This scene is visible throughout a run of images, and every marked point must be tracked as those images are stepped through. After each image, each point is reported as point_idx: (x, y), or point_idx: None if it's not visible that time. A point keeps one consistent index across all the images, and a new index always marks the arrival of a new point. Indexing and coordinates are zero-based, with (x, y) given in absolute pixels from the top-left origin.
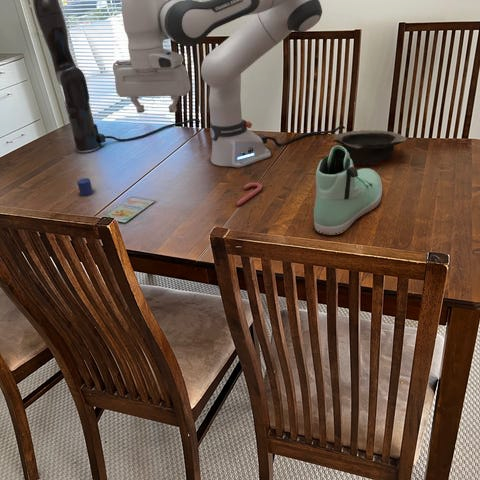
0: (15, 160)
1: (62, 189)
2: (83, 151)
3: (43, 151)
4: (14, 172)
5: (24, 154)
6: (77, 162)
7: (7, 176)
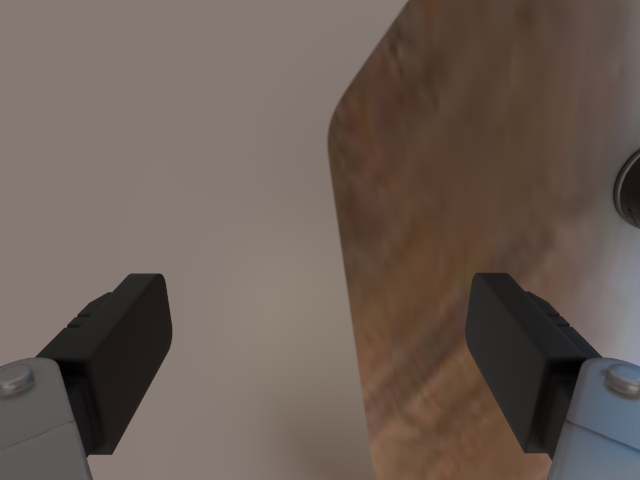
0: (374, 186)
1: (514, 463)
2: (637, 227)
3: (485, 124)
4: (381, 304)
5: (406, 126)
6: (589, 302)
7: (362, 328)
